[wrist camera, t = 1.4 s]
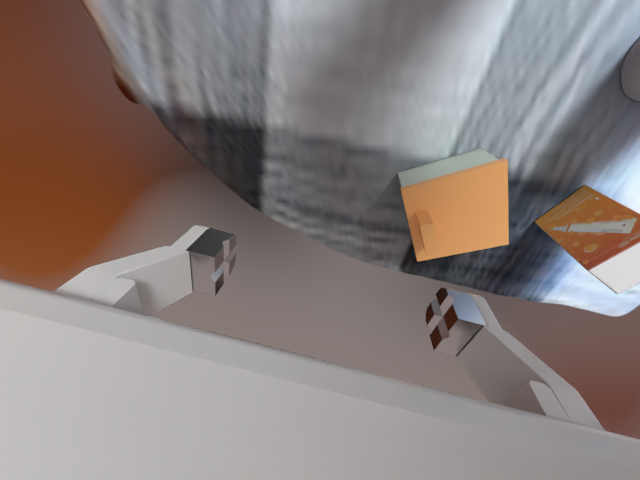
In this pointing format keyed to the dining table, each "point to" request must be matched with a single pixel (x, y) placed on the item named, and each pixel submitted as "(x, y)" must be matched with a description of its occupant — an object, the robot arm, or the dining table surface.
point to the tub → (445, 166)
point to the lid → (459, 211)
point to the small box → (598, 236)
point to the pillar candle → (631, 73)
